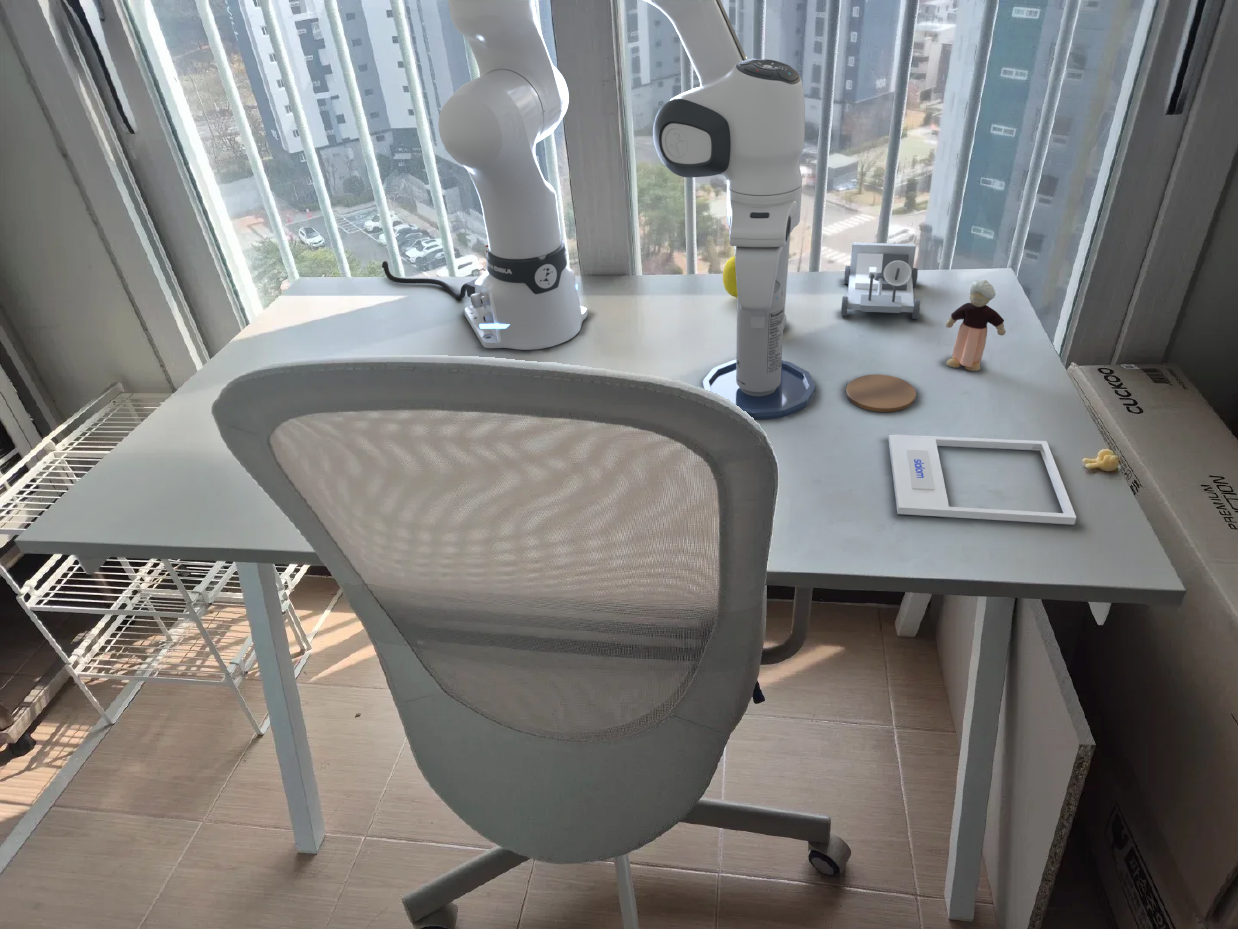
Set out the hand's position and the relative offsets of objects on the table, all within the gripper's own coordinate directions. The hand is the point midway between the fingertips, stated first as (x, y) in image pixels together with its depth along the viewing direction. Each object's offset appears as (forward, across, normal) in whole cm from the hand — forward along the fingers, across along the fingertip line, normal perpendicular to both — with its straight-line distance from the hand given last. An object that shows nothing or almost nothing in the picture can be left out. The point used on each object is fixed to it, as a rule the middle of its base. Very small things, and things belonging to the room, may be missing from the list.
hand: (760, 313), depth 111 cm
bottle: (+12, -20, 0) cm, 23 cm away
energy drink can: (+11, 0, 0) cm, 11 cm away
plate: (+12, 0, 0) cm, 12 cm away
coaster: (+12, -1, +16) cm, 20 cm away
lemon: (+12, -30, -6) cm, 32 cm away
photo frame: (+12, +18, +26) cm, 34 cm away
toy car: (+12, -30, +17) cm, 36 cm away
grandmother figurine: (+12, -10, +28) cm, 32 cm away
